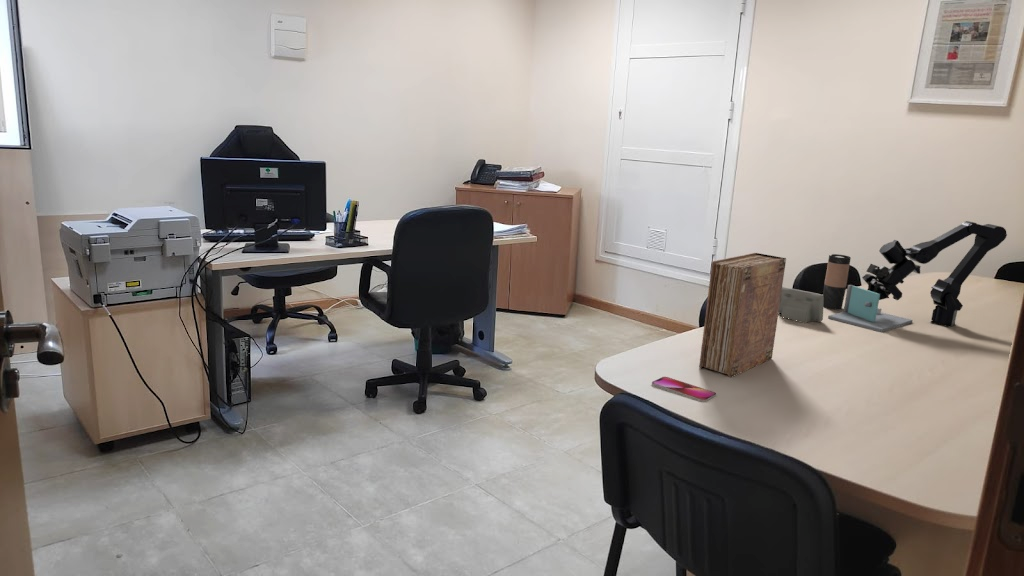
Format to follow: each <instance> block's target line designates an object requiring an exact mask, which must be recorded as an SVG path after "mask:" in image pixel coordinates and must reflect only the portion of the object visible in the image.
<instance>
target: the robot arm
mask: <svg viewBox="0 0 1024 576" xmlns="http://www.w3.org/2000/svg"><path fill="white" fill-rule="evenodd" d="M971 235H975V237H974V242H973V244H972V246H971V248H970V249H969V250H968V252H967V253H966V254H965V255H964V256H963V257H962V259H960V260H961V261H960V262H959V263H958V264H957V265H956V267H955V268H954V269H953V271H952V272H951V273H950V274H949V275H948V277H946V278H944V279H941V278H938V279H937V280H936V281H935V284H933V285H932V286H931V287H930V288H931V290H930V297H931V299H932V302H933V305H935V307H934V309H932V315H931V321H930V324H936V325H939V324H940V326H943V325H946V326H945V327H948V326H951V327H953V326H952V325H954V324H955V323H956V319H957V314H958V312H960V311H961V309H962V308H963V304H962V302H961V301H960V300H959V297H960V296H959V295H960V294H961V288H962V285H963V283H964V282H965V281H966V280H967V278H968V277H969V276H970V275H971V274H972V273H973V271H974V270H975V268H976V267H977V266H978V264H979V263H980V262H981V261H982V259H983V258H984V257H985V256H986V254H987V253H989V251H991V250H993V249H995V248H997V247H998V246H999V245H1000V244H1002V243H1003V242H1004V241H1005V240H1006V238H1007V236H1008V234H1007V230H1006V228H1005V227H1003V226H1000V225H996V224H991V223H987V224H983V225H982V224H979V223H976V222H973V221H969V220H965V221H963V222H962V223H961V224H959V225H957V226H955V227H953V228H952V229H950V230H948V231H946V232H944V233H942V234H941V235H939V236H937V237H936V238H934V239H931V240H928V241H925V242H920V243H916V244H915V245H912V246H911V247H908V248H904V247H903V246H902V244H901V242H899V240H897V239H894V240H893V241H890V242H887V243H885V244H883V245H882V246H881V247H880V249H879V253H880V254H881V256H883V258H884V259H885V260H886V261H887V262H888V264H891V265H892V264H893V266H891V267H890V268H889V267H887V266H885V265H881V266H878V265H875V264H873V263H870V264H869V266H868V268H866V272H867V273H866V274H864V275H863V276H862V280H863V281H864V282H865V283H866V284H867V285H868V286H867V289H866V290H869V291H872V292H875V293H878V294H880V298H879V301H881V300H886V299H890V297H889V296H890V295H892V298H893V299H894V300H895V301H899V300H900V299H901V298H902V297H903V292H902V291H901V289H899V288H898V285H899V284H901V285H902V284H903V283H905V281H904V280H905V279H906V278H907V277H908V276H909V275H911V274H912V272H913V273H916V274H919V275H920V274H921V267H922V266H921V265H918V264H916V263H919V264H922V265H926V264H928V263H930V262H931V261H932V260H934V259H935V258H937V256H938V255H939V254H940V252H942V251H943V250H946V249H947V248H949V247H951V246H953V245H954V244H956V243H958V242H960V241H961V240H964V239H965V238H968V236H971ZM915 262H916V263H915ZM954 326H955V325H954Z"/></svg>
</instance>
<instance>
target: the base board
mask: <svg viewBox="0 0 1024 576" xmlns="http://www.w3.org/2000/svg"><path fill="white" fill-rule="evenodd" d="M827 319H829V320H833V321H836V322H841V323H845V324H849V325H853V326H857V327H861V328H865V329H869V330H872V331H876V332H879V333H883V332H887V331H889V330H892V329H896V328H899V327H903V326H906V325H909V324H911V323H913V319H911V318H910V319H909V318H907V317H903V316H899V315H894V314H890V313H886V312H882V308H880V307H878V309H877V315H876V320H875V322H872V321H869V320H867V319H864V318H861V317H858V316H856V315H853V314H850V313H847V312H844V310H841V311H840V312H838V313H833V314H829V315H828V317H827Z"/></svg>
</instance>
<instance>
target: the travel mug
mask: <svg viewBox="0 0 1024 576" xmlns="http://www.w3.org/2000/svg"><path fill="white" fill-rule="evenodd" d="M851 259H852V258H851V256H849V255H846V254H845V255H844V254H839V253H838V254H835V253H832V254H831V255H829V254H828V261H827V265H826V268H827V269H826V273H825V276H824V277H825V279H824V285H823V294H822V295H823V297H824V303H823V308H826V309H830V310H842V308H843V304H844V301H845V296H846V291H847V286H848V284H847V283H848V278H849V270H850V265H851Z"/></svg>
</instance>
